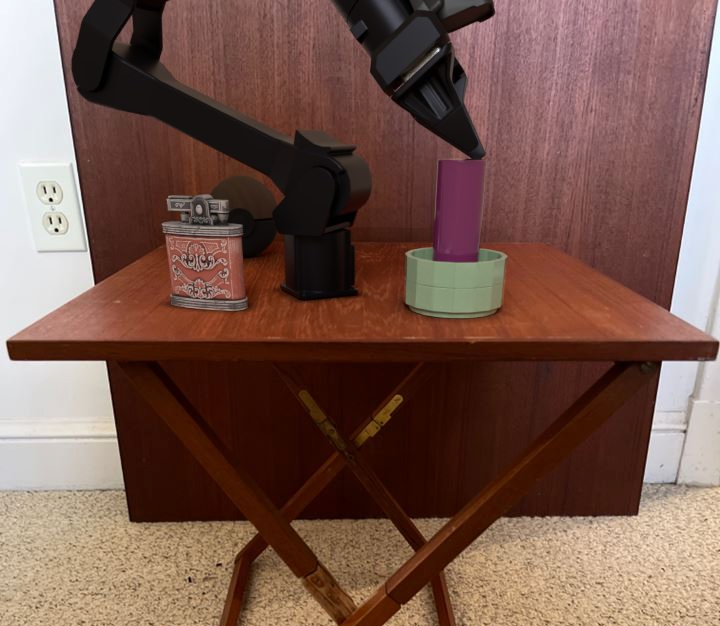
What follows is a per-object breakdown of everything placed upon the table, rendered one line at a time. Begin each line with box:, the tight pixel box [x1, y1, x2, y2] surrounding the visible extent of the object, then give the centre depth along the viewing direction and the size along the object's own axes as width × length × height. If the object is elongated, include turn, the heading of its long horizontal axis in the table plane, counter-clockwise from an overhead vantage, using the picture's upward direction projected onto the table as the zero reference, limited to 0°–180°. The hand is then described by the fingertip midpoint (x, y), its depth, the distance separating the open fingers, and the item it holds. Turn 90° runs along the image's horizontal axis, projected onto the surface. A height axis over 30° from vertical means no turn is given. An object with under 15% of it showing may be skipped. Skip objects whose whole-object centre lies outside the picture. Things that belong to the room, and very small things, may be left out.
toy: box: [209, 174, 278, 258], centre depth 92 cm, size 9×10×10 cm
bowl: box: [403, 246, 509, 319], centre depth 67 cm, size 9×9×5 cm
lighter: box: [161, 193, 249, 312], centre depth 66 cm, size 8×3×10 cm, turn 71°
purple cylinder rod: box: [432, 157, 488, 262], centre depth 65 cm, size 4×4×12 cm
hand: (478, 154), depth 63 cm, fingers open, 9 cm apart
